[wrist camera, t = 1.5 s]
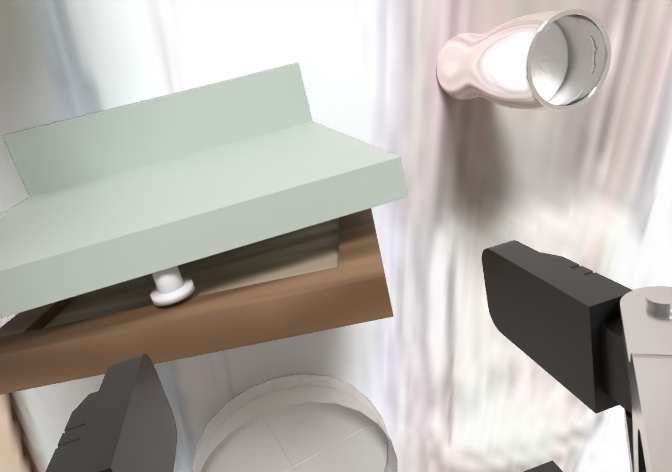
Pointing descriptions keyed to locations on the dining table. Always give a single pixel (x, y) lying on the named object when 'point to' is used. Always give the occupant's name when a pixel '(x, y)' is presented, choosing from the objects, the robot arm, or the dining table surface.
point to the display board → (177, 187)
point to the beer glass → (529, 61)
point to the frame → (206, 306)
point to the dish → (296, 430)
